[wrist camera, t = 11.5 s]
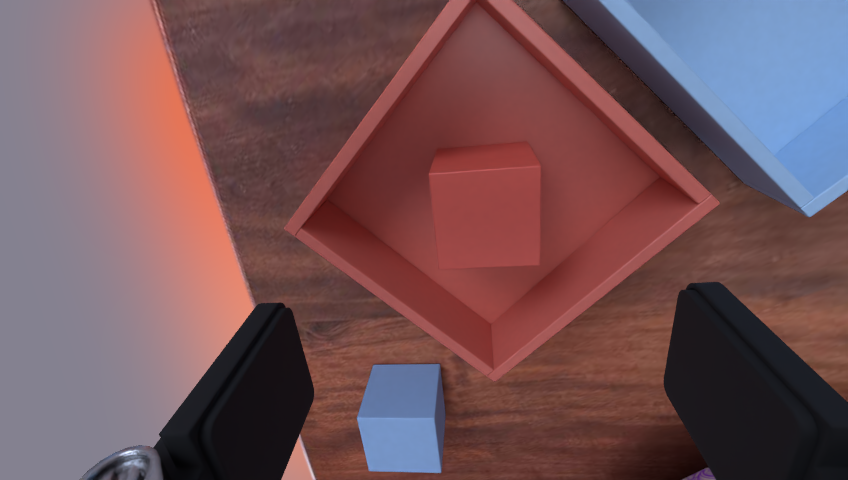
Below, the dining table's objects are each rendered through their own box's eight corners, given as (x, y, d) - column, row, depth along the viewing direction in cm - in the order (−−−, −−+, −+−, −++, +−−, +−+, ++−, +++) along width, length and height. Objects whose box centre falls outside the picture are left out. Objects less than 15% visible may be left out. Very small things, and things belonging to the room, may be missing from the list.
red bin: (315, 196, 24) (283, 228, 20) (475, -20, 19) (475, -37, 15) (491, 330, 26) (494, 383, 22) (673, 172, 21) (721, 203, 17)
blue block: (382, 413, 30) (368, 471, 26) (372, 364, 28) (356, 418, 24) (445, 414, 30) (441, 473, 26) (440, 363, 28) (434, 418, 24)
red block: (443, 230, 23) (438, 270, 19) (436, 148, 21) (428, 173, 17) (528, 225, 23) (540, 266, 19) (528, 140, 21) (541, 165, 17)
